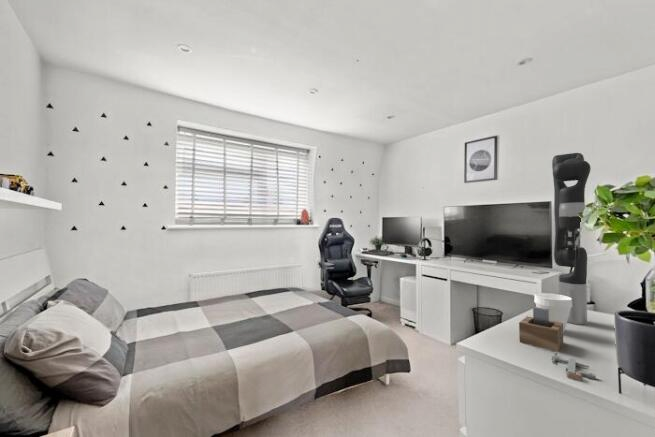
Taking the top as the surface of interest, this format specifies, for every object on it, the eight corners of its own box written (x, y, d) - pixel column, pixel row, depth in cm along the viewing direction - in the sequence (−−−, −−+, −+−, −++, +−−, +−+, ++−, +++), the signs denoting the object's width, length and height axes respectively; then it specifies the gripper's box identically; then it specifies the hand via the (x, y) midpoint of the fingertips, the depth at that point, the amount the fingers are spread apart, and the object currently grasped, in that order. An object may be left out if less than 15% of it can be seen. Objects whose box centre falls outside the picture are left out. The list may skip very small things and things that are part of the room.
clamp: (596, 378, 76) (548, 366, 83) (596, 387, 76) (548, 374, 82) (594, 359, 87) (552, 349, 94) (594, 366, 87) (552, 356, 94)
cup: (570, 328, 118) (569, 295, 119) (575, 338, 108) (574, 301, 109) (534, 323, 125) (533, 291, 126) (535, 331, 115) (534, 297, 115)
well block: (527, 334, 112) (526, 316, 112) (563, 342, 104) (562, 323, 104) (519, 342, 104) (519, 322, 105) (557, 351, 96) (557, 330, 97)
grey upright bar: (535, 338, 107) (534, 306, 108) (549, 342, 104) (549, 309, 105) (532, 342, 104) (531, 309, 105) (547, 345, 101) (546, 311, 102)
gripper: (562, 216, 113) (563, 257, 113) (555, 215, 103) (556, 260, 103) (588, 215, 108) (589, 259, 107) (583, 214, 98) (584, 262, 97)
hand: (573, 259), depth 105 cm, fingers open, 8 cm apart
